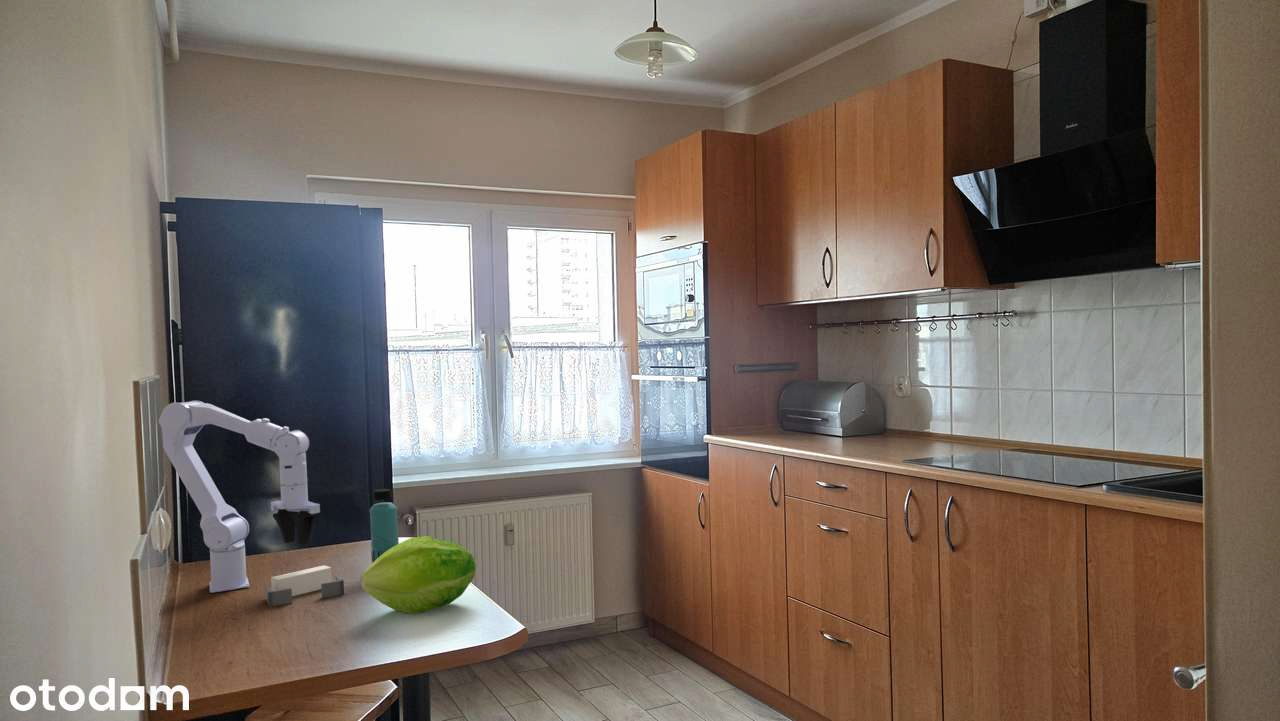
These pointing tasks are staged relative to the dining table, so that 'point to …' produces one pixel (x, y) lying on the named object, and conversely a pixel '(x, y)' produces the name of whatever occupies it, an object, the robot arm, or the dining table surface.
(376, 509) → the beverage bottle
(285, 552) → the dining table surface
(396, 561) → the green papaya
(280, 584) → the cream rectangular block
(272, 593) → the end cap
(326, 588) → the end cap
